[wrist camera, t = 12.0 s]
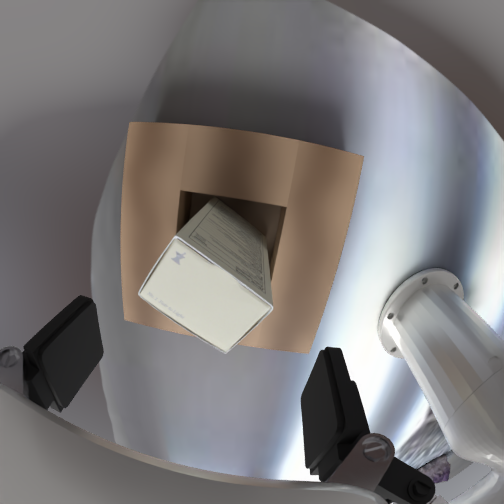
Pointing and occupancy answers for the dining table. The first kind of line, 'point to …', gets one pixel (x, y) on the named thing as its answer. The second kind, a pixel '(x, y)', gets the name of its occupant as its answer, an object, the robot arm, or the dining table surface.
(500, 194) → the dining table surface
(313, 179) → the socket block
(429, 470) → the geode
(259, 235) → the skincare box
